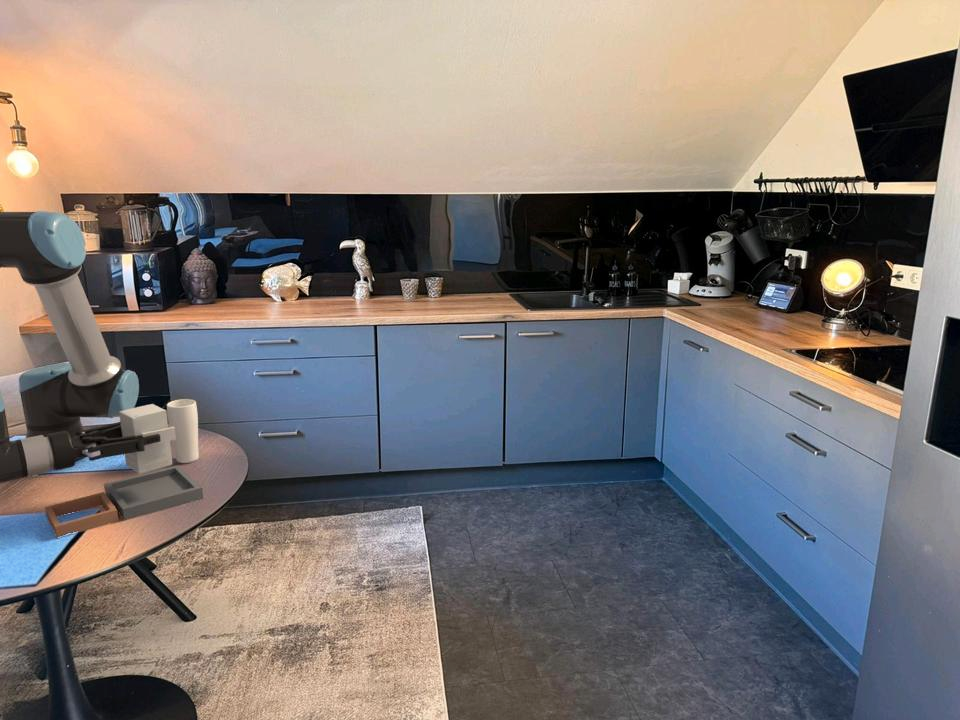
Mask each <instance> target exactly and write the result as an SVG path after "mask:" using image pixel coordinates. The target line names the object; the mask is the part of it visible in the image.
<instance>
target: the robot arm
mask: <svg viewBox="0 0 960 720" xmlns="http://www.w3.org/2000/svg"><path fill="white" fill-rule="evenodd" d="M86 246H87V244H86V239H85V236H84V234H83V231H82V230H81V227H80V226H79V225H78V224H77V222H76V221H74V219H72V218H71V217H70V216H68V215H65V214H64V213H60V212H53V211H47V210H46V211H45V210H37V211H0V269H2V268H7V269H8V268H9V269H10V268H11V269H13V268H14V269H17V270H18V273H19V275H20V277H21V279H22V281H23V282H24V283H25V284H27V285H30V286H32V287H33V286H34V288H35V291H36V293H37V295H38V297H39V300H40V301H41V303H42V306H43V308H44V310H45V312H46V313H45V314H46V315H47V316H48V320H49V321H50V323H51V326H52V328H53V330H54V333H55V334H56V337H57V340H58V341H59V343H60V345H61V348H62V350H63V352H64V354H65V357H66V359H67V361H68V362H60V363H53V364H48V365H47V364H46V365H44V366H43V365H42V366H39V367H35V368H32V369H29V370H27V371H25V372H23V373H22V374H20V376H19V377H18V393H19V394H20V401H21V405H22V411H23V415H24V421H25V422H24V423H25V427H26V435H25V437H24V438H21V439H20V438H19V439H15V440H11V439H10V433H9V427H8V421H7V414H6V405H5V401H3V397H2V391H1V390H0V484H1V483H6V482H10V481H15V480H19V479H24V478H29V477H31V476H32V477H33V478H37V477H38V476H39V475H41V474H45V473H49V472H51V470H52V469H53V471H60V470H65V469H68V468H73V467H74V466H76V465H75V464H76V461H79V460H81V459H83V458H88V461H91V462H92V461H97V460H101V459H105V458H109V457H115V456H121V455H125V454H128V453H134V452H140V451H141V452H142V451H145V448H144V446H148V445H153V444H157V443H162V442H167V441H170V442H171V441H173V440H176V434H175V427H168V428H165V429H160V430H155V431H151V432H146V433H141V434H142V435H139V436H129V437H122V430H121V423H120V421H118V422H114V423H109V424H105V425H101V426H96V427H93V428H89V429H85V427H84V425H83V424H82V421H81V418H103V419H105V418H106V419H107V418H109V419H113V418H120V414H119V411H123V410H127V409H132V408H136V404H137V401H138V397H139V393H140V384H139V378H138V374H136V372H135V371H132V370H130V369H127V370H125V369H124V367H123V366H122V363H121V361H120V359H118V358H117V357H115V356H114V355H113V356H112V355H110V352H109V349H108V347H107V345H106V342H105V339H104V337H103V334H102V332H101V329H100V328H99V327H100V326H99V325H98V322H97V320H96V318H95V315H94V312H93V310H92V307H91V305H90V303H89V300H88V298H87V295H86V293H85V290H84V287H83V286H82V282H81V280H80V277H79V275H78V274H79V273H80V271H81V270H82V268H83V267H82V264H83V263H84V261H85V260H86V256H87V249H86V248H85V247H86Z"/></svg>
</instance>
